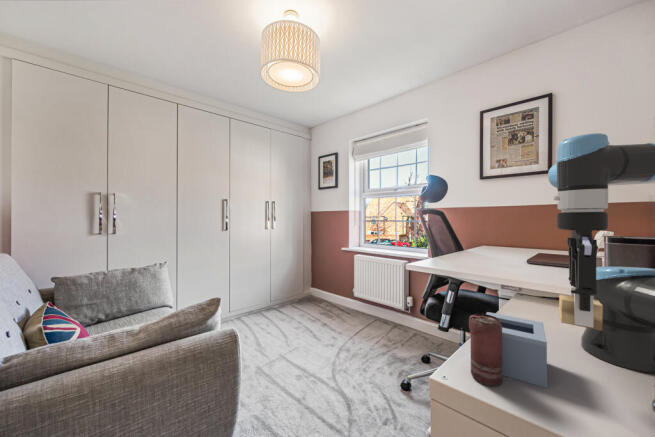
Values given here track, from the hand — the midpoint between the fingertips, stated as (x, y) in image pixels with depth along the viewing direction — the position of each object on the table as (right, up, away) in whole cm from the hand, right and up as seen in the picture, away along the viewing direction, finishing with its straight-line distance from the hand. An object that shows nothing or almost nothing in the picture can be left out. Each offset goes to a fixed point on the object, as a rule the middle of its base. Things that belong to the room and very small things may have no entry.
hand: (581, 321), depth 54 cm
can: (-18, -15, +4) cm, 24 cm away
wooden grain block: (0, -1, 0) cm, 1 cm away
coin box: (-8, -15, +9) cm, 19 cm away
